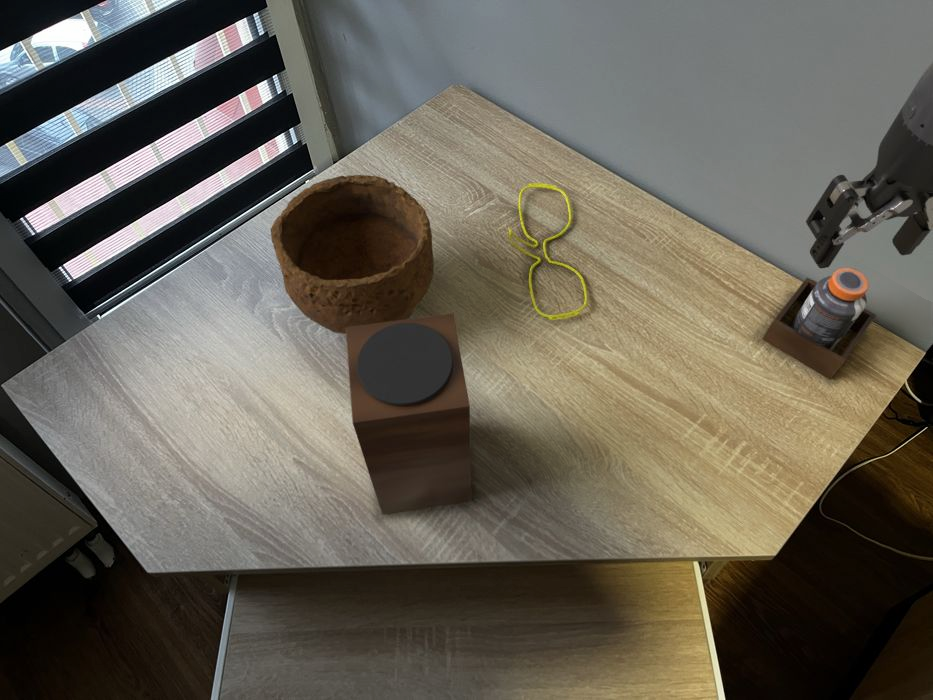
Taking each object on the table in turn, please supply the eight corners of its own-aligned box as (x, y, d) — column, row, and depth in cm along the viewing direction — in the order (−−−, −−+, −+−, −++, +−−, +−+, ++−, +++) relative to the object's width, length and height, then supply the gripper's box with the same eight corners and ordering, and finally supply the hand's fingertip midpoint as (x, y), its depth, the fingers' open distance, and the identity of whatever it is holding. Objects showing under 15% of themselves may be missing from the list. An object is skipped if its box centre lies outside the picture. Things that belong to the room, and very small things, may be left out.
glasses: (591, 322, 91) (596, 300, 87) (516, 327, 91) (517, 304, 87) (565, 187, 105) (568, 162, 101) (499, 190, 104) (500, 166, 100)
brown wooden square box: (861, 333, 89) (876, 314, 86) (829, 379, 86) (844, 362, 82) (795, 296, 93) (807, 277, 89) (761, 339, 89) (772, 321, 86)
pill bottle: (846, 347, 88) (890, 291, 79) (807, 361, 87) (847, 307, 78) (816, 311, 91) (855, 254, 82) (778, 325, 90) (813, 269, 81)
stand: (471, 501, 78) (469, 406, 59) (382, 514, 77) (352, 422, 59) (458, 422, 83) (453, 312, 65) (375, 434, 82) (345, 326, 64)
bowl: (318, 243, 99) (295, 162, 87) (448, 258, 97) (444, 177, 85) (278, 353, 89) (245, 279, 76) (422, 371, 87) (413, 299, 75)
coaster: (459, 399, 60) (458, 395, 59) (361, 413, 59) (360, 409, 59) (445, 320, 64) (445, 316, 64) (354, 332, 64) (353, 329, 63)
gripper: (895, 163, 52) (808, 296, 65) (1068, 137, 53) (948, 273, 67) (847, 99, 56) (774, 237, 69) (1009, 77, 57) (906, 216, 71)
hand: (859, 254), depth 68 cm, fingers open, 8 cm apart
